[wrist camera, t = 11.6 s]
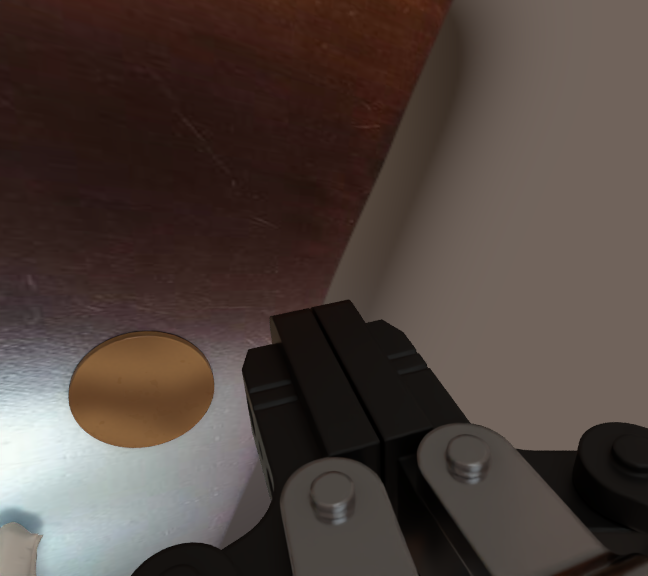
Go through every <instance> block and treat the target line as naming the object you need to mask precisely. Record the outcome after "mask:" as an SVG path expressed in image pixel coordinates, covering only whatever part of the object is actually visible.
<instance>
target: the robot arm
mask: <svg viewBox="0 0 648 576" xmlns="http://www.w3.org/2000/svg"><path fill="white" fill-rule="evenodd" d="M270 331H271V338H272V344H270V345H266V346H261V347H257V348H252V349H248V352H247V355H246V358H245V361H244V364H243V367H242V374H243V380H244V386H245V392H246V398H247V404H248V410H249V416H250V421H251V427H252V433H253V437H254V440H255V444H256V448H257V452H258V454H259V459H260V463H261V466H262V470H263V473H264V477H265V481H266V485H267V488H268V492H269V496H270V499H271V504H270V506H269V508H268V510H267V512H266V514H265V515H264V517H263V518H262V519H261V520H260V522H259V523H258V524H257V525H256V526H255V527H254V528H253V529H252V530H251V531H249V532H248V533H246V534H245V535H244V536H242V537H241V538H239V539H238V540H236V541H235V542H233V543H231V544H230V545H228V546H227V547H225V548H224V549H222V550H220V549H219V548H216V547H214V546H212V545H208V544H204V543H193V542H192V543H182V544H178V545H174V546H171V547H168V548H166V549H163V550H161V551H160V552H158V553H156V554H154V555H153V556H151V557H150V558H148V559H147V560H146V561H144V562H143V563H142V564H141V565H140V566H139V567H138V568H137V569H136V570H135V571H134V573H133V574H132V575H131V576H648V428H645V427H641V426H638V425H634V424H629V423H621V422H610V423H603V424H599V425H596V426H593V427H592V428H590V429H588V430H587V431H586V432H585V433H584V434H583V435H582V437H581V439H580V441H579V446H578V450H577V451H532V450H521V449H515V448H514V447H513V446H512V445H511V444H510V443H509V442H508V441H507V440H506V439H505V438H504V437H503V436H501V435H500V434H498V433H497V432H495V431H493V430H491V429H489V428H486V427H484V426H480V425H476V424H471V423H470V422H469V420H468V419H467V418H466V417H465V415H464V414H463V412H462V411H461V410H460V408H459V407H458V406H457V404H456V403H455V402H454V400H453V399H452V397H451V396H450V395H449V393H448V392H447V391H446V389H445V388H444V387H443V385H442V384H441V383H440V381H439V380H438V379H437V377H436V376H435V375H434V373H433V372H432V370H431V369H430V368H428V367H427V364H426V362H425V361H424V360H423V358H422V357H421V355H420V354H419V353H417V352H416V349H415V347H414V346H413V345H412V343H411V342H410V341H409V339H408V338H407V337H406V335H405V334H404V333H403V332H402V331H400V330H398V329H397V328H395V327H394V326H392V325H390V324H389V323H387V322H385V321H384V320H378V321H373V322H368V323H365V321H364V320H363V318H362V317H361V315H360V314H359V312H358V311H357V309H356V308H355V306H354V305H353V303H352V302H351V301H350V300H344V301H340V302H335V303H330V304H325V305H321V306H316V307H311V308H310V309H309V308H307V309H303V310H298V311H293V312H288V313H284V314H279V315H274V316H270Z"/></svg>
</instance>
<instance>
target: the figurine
mask: <svg viewBox="0 0 648 576" xmlns="http://www.w3.org/2000/svg"><path fill="white" fill-rule="evenodd" d="M42 537H43V535H38V534H36V533H30V532H29V531H27V530H26V529H25V528H24V527H23V526H22V525H20V524H18V523H16V522H10V523H7V524H5V525H3V526H2V527H1V528H0V576H36V558H37V547H38V544H39V542H40V540H41V538H42Z"/></svg>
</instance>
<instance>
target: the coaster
mask: <svg viewBox="0 0 648 576" xmlns="http://www.w3.org/2000/svg"><path fill="white" fill-rule="evenodd" d="M213 393H214V378H213V373H212V370H211V367H210V365H209V363H208V361H207V359H206V357H205V356H204V355H203V353H202V352H201V351H200V350H199V349H198V348H197V347H195V346H194V345H193V344H191V343H190V342H188V341H186V340H184V339H182V338H180V337H177V336H175V335H171V334H168V333H163V332H156V331H141V332H133V333H127V334H123V335H120V336H117V337H114V338H112V339H109V340H107V341H105V342H103V343H102V344H100V345H98V346H97V347H95V348H94V349H93V350H91V351H90V352H89V353H88V354H87V355H86V356H85V357H84V358H83V359H82V360H81V362H80V363H79V364H78V366H77V367H76V369H75V371H74V373H73V375H72V378H71V381H70V386H69V406H70V409H71V412H72V414H73V416H74V418H75V420H76V421H77V423H78V424H79V426H80V427H81V428H82V429H83V430H84V431H85V432H87V433H88V434H89V435H91V436H92V437H94V438H96V439H98V440H100V441H102V442H105V443H107V444H111V445H114V446H120V447H128V448H142V447H150V446H155V445H159V444H162V443H165V442H168V441H171V440H173V439H175V438H177V437H179V436H181V435H183V434H184V433H186V432H187V431H189V430H190V429H191V428H193V427H194V426H195V425H196V424H197V423H198V422H199V421H200V420H201V419H202V417H203V416H204V415H205V413H206V412H207V410H208V408H209V406H210V404H211V401H212V398H213Z"/></svg>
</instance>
